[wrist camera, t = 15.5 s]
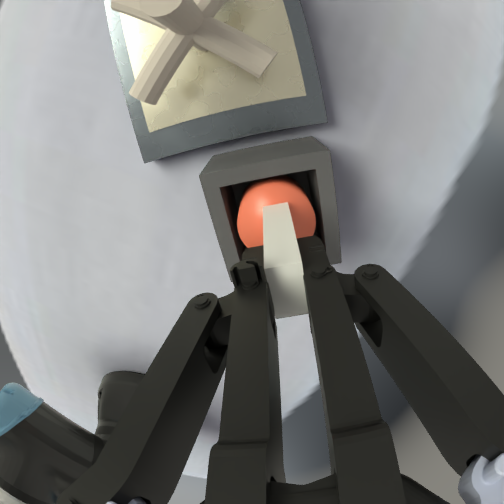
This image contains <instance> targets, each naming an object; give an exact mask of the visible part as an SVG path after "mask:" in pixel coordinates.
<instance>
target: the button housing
mask: <svg viewBox="0 0 504 504" xmlns="http://www.w3.org/2000/svg"><path fill="white" fill-rule="evenodd" d="M278 175H285V176H288V177H291V178H292V179H294V180H295V181H297V182H298V183H299V184H300V185H301V186H302V188H303V189H304V191H305V193H306V195H307V197H308V199H309V201H310V203H311V206H312V208H313V210H314V213H315V218H316V226H315V231H314V234H313V235H315V236H317V237H318V238H320V239H321V241H322V244H323V246H324V249H325V252H326V254H327V257H328V260H329V262H330V265H332V264H337V263H341V248H340V235H339V224H338V213H337V203H336V194H335V186H334V178H333V170H332V162H331V155H330V150H329V149H328V148H326V147H325V146H324V145H323V144H321V143H320V142H319V141H317V140H316V139H315V138H314V137H312V136H310V137H304V138H298V139H292V140H286V141H280V142H275V143H270V144H264V145H259V146H254V147H249V148H245V149H240V150H236V151H231V152H227V153H222V154H218V155H214V156H213V157H212V158H211V159H210V161H209V162H208V164H207V165H206V166H205V168H204V169H203V171H202V172H201V173H200V175H199V178H200V181H201V185H202V188H203V191H204V195H205V198H206V202H207V205H208V208H209V212H210V215H211V219H212V222H213V225H214V229H215V232H216V235H217V238H218V242H219V245H220V248H221V251H222V255H223V258H224V261H225V264H226V268H227V271H228V274H229V277H230V280H231V282H233V280H232V277H231V274H230V269H231V267H232V266H233V265H234V264H236V263H238V262H240V261H242V254H243V252H244V251H245V250H246V248H247V247H246V245H245V244H244V243H243V242H242V240H241V238H240V236H239V233H238V228H237V220H238V213H239V206H240V200H241V197H242V194H243V192H244V190H245V189H246V187H247V186H248V185H249V184H250V183H251V182H252V181H254V180H257V179H262V178H267V177H273V176H278Z"/></svg>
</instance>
